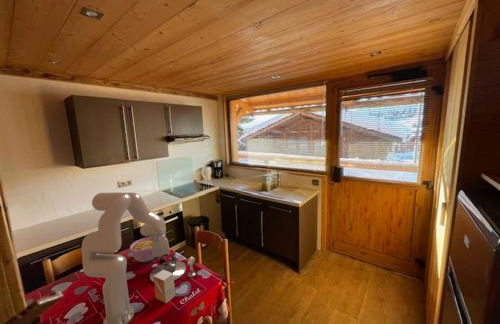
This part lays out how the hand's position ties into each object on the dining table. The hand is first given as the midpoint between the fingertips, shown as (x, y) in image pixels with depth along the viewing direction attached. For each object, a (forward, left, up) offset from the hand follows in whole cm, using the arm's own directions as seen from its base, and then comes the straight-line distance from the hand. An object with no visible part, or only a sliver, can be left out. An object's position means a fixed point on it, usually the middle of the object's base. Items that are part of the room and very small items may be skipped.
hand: (162, 264), depth 140 cm
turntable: (-8, 0, -3) cm, 9 cm away
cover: (-9, -1, -1) cm, 10 cm away
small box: (-27, +10, -3) cm, 29 cm away
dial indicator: (-21, -9, -3) cm, 23 cm away
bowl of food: (+19, +3, -3) cm, 19 cm away
